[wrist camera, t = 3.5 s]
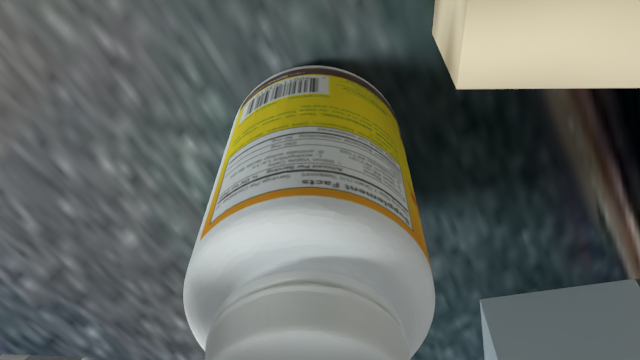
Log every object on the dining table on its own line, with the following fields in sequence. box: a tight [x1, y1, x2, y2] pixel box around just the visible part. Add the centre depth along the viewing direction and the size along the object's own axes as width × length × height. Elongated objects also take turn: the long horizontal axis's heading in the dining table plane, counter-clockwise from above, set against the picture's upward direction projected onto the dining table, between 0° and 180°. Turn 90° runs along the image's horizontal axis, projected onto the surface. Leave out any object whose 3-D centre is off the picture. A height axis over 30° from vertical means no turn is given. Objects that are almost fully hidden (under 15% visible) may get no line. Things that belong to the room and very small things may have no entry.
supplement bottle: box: [183, 65, 435, 360], centre depth 15 cm, size 6×6×10 cm
